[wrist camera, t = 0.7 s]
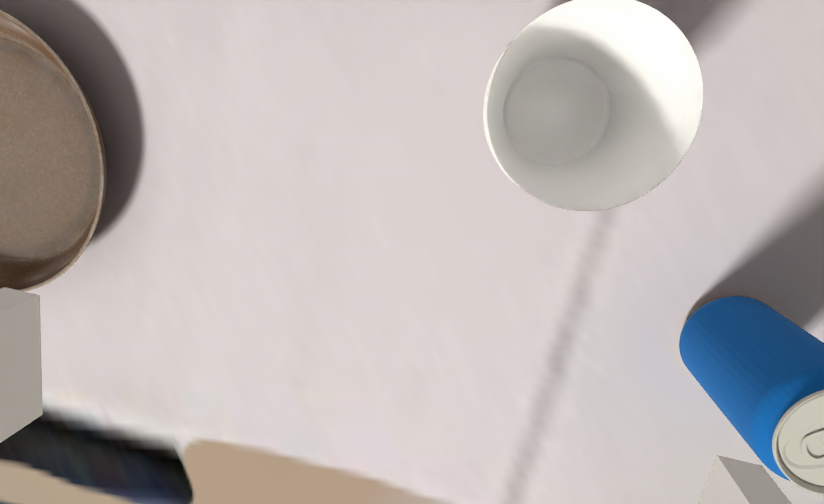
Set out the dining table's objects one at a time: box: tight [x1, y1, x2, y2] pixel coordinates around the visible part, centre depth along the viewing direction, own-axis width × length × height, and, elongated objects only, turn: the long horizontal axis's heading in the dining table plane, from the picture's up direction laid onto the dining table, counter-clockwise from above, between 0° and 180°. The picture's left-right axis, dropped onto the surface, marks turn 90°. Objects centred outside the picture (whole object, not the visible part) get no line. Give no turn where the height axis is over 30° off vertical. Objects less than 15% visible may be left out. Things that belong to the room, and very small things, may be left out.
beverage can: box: [679, 296, 824, 495], centre depth 29 cm, size 6×6×12 cm
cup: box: [483, 0, 703, 211], centre depth 27 cm, size 9×9×12 cm
